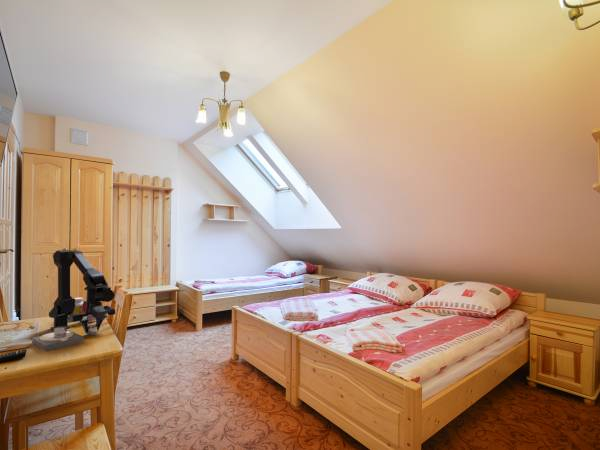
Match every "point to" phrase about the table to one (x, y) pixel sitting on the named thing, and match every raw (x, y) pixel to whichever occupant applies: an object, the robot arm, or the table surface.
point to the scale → (57, 341)
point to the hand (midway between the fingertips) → (91, 332)
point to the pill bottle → (78, 305)
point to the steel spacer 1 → (60, 332)
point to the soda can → (91, 319)
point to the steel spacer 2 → (92, 330)
